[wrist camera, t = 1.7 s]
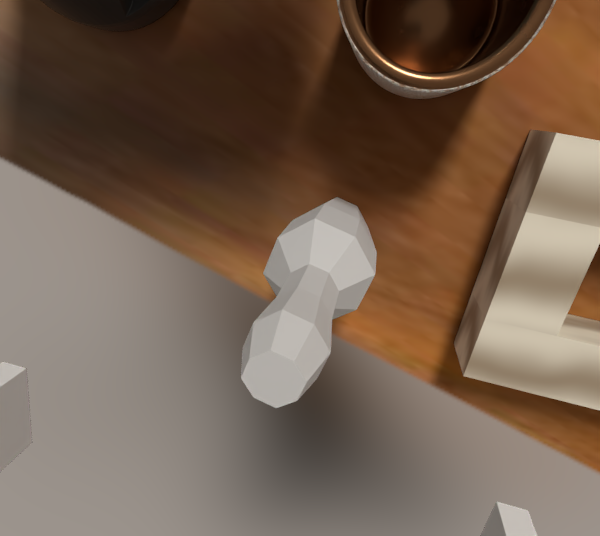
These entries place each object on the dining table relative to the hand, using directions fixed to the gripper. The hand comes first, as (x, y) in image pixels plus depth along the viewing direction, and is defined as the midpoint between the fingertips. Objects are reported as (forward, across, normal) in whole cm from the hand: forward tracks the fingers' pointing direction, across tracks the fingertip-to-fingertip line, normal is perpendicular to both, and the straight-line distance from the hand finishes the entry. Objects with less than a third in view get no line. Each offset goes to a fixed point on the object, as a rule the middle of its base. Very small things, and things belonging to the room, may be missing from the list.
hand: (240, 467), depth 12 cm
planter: (+26, +3, +16) cm, 31 cm away
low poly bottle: (+26, 0, 0) cm, 26 cm away
